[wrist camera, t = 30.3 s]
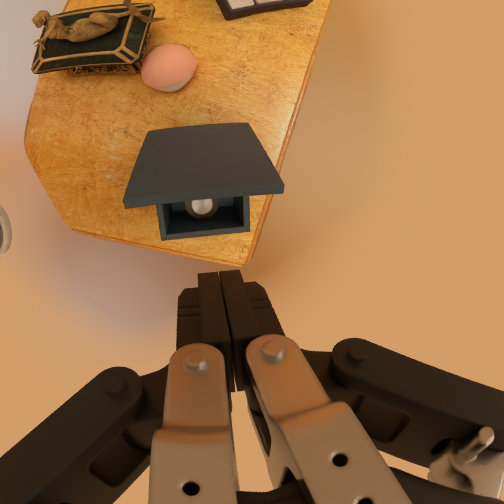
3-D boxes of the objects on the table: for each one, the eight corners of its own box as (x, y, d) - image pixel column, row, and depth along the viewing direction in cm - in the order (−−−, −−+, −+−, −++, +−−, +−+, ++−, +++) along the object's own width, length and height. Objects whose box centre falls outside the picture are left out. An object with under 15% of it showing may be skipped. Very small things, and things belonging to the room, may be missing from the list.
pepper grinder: (181, 184, 41) (178, 196, 34) (208, 172, 41) (211, 181, 34) (193, 209, 43) (193, 226, 36) (219, 198, 43) (225, 212, 36)
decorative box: (59, 83, 29) (-11, 68, 11) (72, 33, 25) (15, -4, 8) (170, 81, 34) (151, 42, 16) (183, 29, 30) (179, -34, 13)
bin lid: (283, 193, 20) (284, 184, 19) (125, 209, 18) (122, 200, 17) (247, 128, 30) (248, 122, 29) (148, 137, 28) (148, 130, 27)
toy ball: (152, 103, 35) (143, 97, 28) (141, 62, 31) (130, 48, 24) (202, 87, 35) (203, 77, 28) (190, 46, 32) (189, 29, 25)
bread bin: (237, 208, 45) (250, 231, 36) (168, 215, 43) (161, 241, 34) (234, 127, 39) (247, 125, 30) (160, 133, 37) (149, 134, 28)
